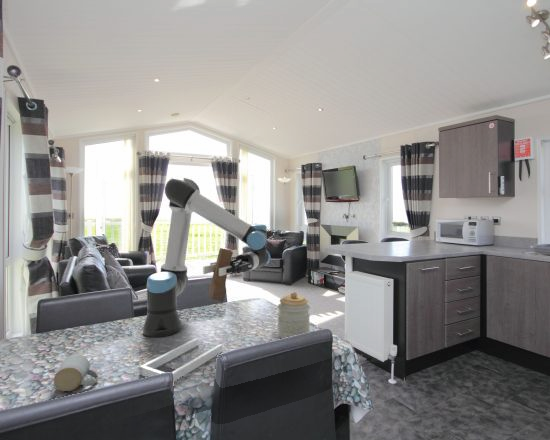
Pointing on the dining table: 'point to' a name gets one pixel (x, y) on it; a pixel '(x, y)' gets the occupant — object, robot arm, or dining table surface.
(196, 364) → the channel
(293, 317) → the jar
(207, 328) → the dining table surface
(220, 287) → the wooden block
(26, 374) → the dining table surface
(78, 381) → the ceramic mug
